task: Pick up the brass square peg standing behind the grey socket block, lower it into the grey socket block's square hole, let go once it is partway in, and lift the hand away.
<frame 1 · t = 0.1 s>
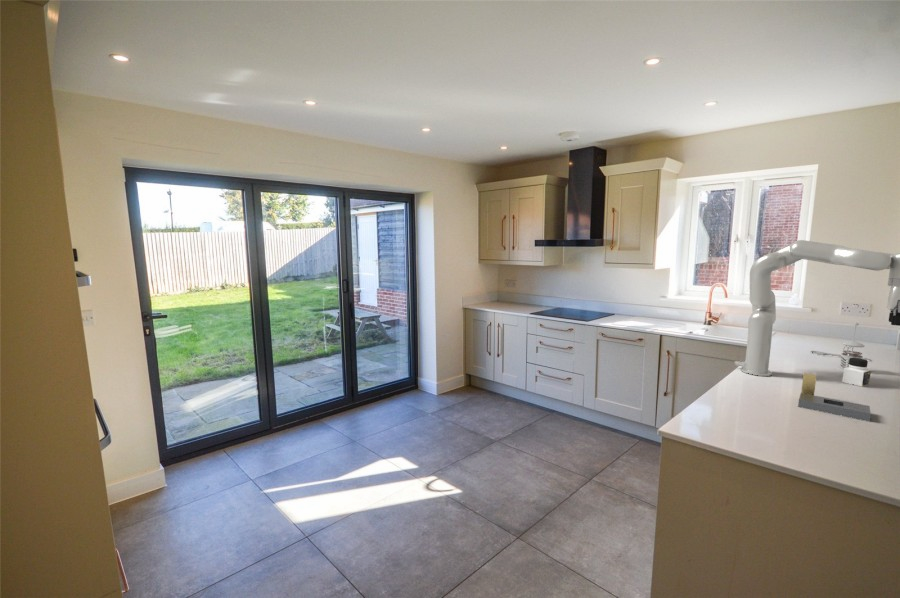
hand: (895, 323, 172), 31 cm above the worktop, tool pointing down, fingers open, 9 cm apart
brass peg: (807, 397, 173), on the worktop
grey socket block: (832, 410, 160), on the worktop
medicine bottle: (855, 384, 191), on the worktop
french press: (848, 370, 212), on the worktop
adjustable wrench: (839, 358, 237), on the worktop
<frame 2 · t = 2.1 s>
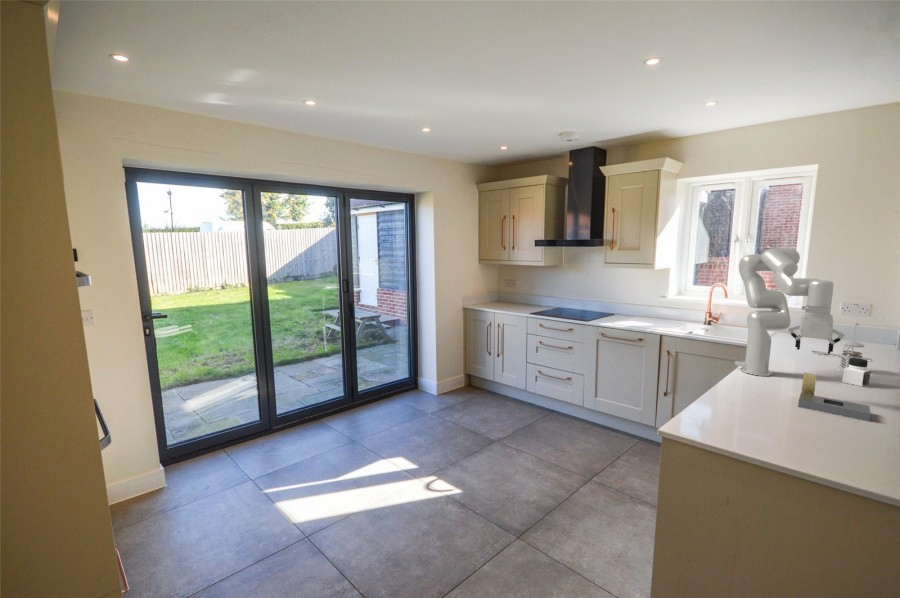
hand: (813, 351, 171), 20 cm above the worktop, tool pointing down, fingers open, 9 cm apart
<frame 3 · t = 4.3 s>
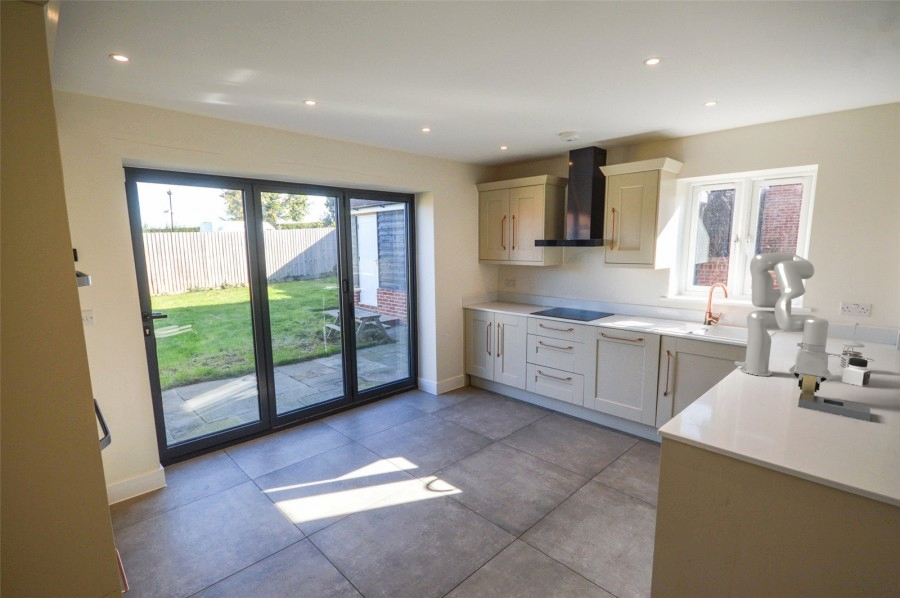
hand: (808, 389, 173), 3 cm above the worktop, tool pointing down, fingers closed on brass peg, 4 cm apart
brass peg: (807, 397, 173), on the worktop, touching gripper
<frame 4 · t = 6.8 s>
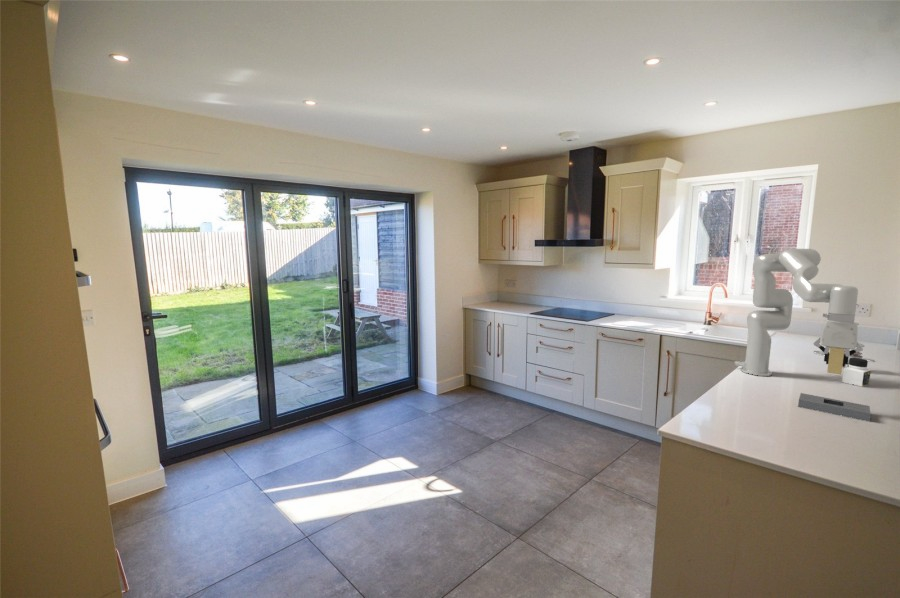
hand: (835, 364, 159), 18 cm above the worktop, tool pointing down, fingers closed on brass peg, 4 cm apart
brass peg: (834, 372, 160), point 15 cm above the worktop, touching gripper
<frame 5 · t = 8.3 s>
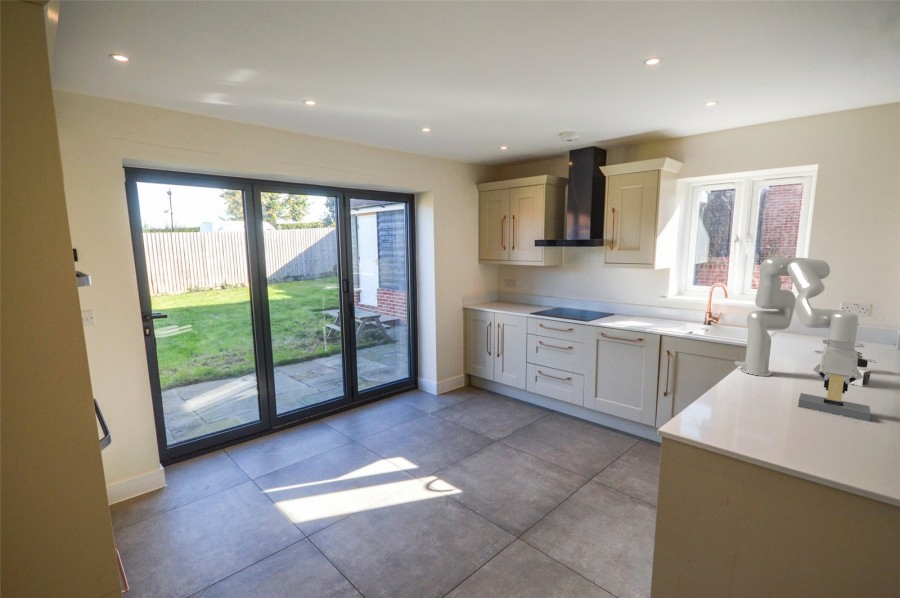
hand: (835, 390, 159), 8 cm above the worktop, tool pointing down, fingers closed on brass peg, 4 cm apart
brass peg: (834, 398, 159), point 5 cm above the worktop, touching gripper
when the fingers open (4 cm above the worktop, at t = 9.3 s): brass peg stays where it is, resting in grey socket block.
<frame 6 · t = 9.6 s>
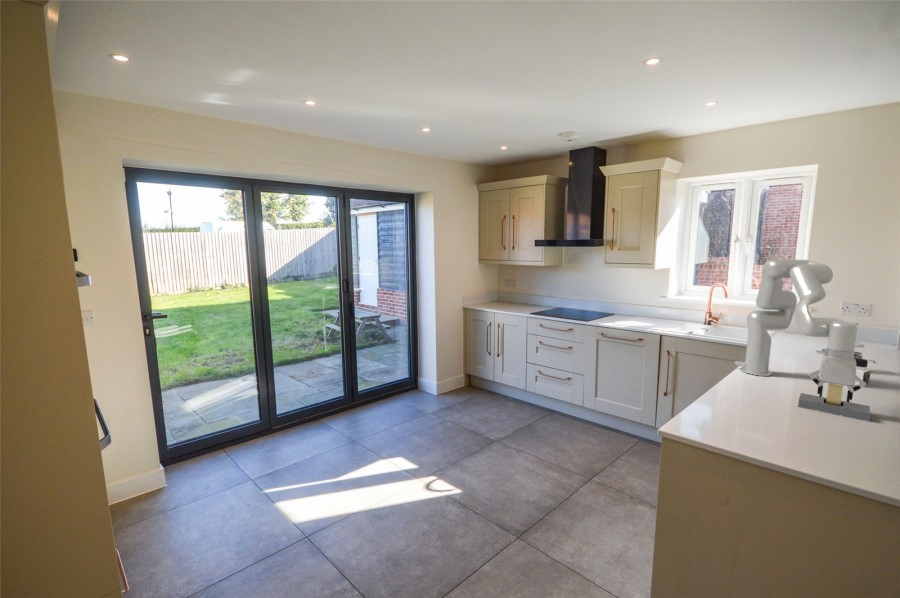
hand: (834, 398, 159), 5 cm above the worktop, tool pointing down, fingers open, 7 cm apart
brass peg: (832, 409, 160), resting in grey socket block
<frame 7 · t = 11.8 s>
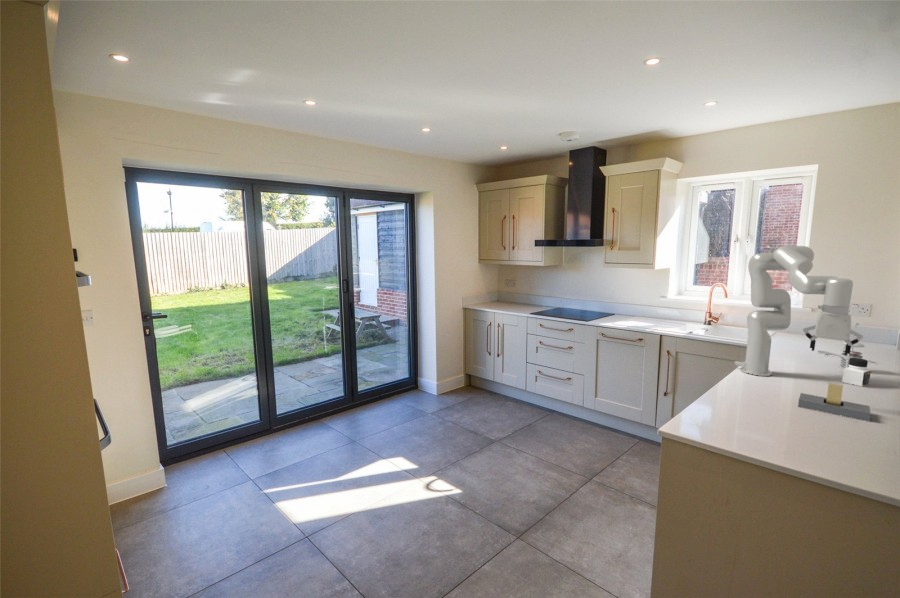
hand: (829, 352, 163), 22 cm above the worktop, tool pointing down, fingers open, 9 cm apart
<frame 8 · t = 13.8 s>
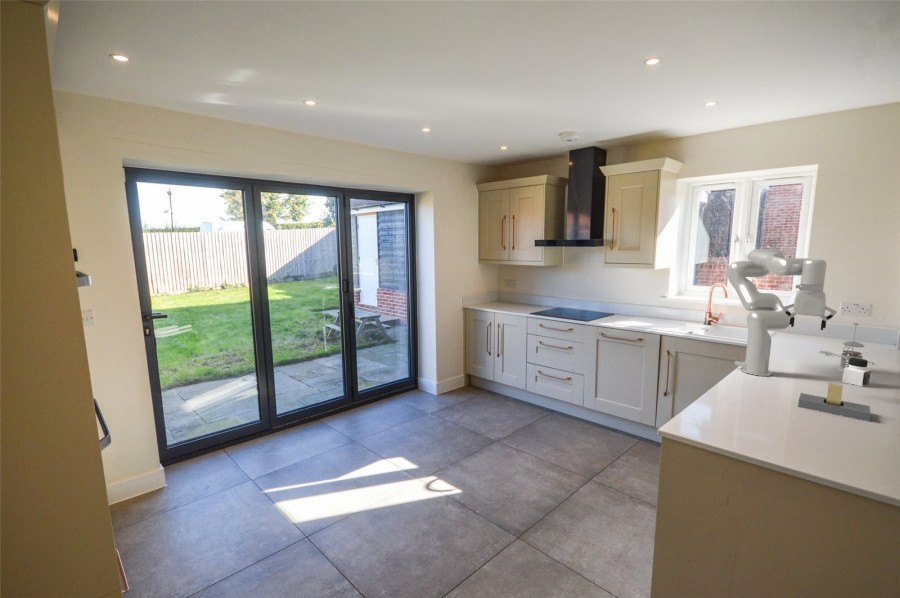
hand: (806, 328, 177), 28 cm above the worktop, tool pointing down, fingers open, 9 cm apart
at the end: brass peg 0.1 cm off-centre on the grey socket block, point 0.0 cm above the grey socket block's base; brass peg tilted 0°; the gripper is holding nothing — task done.
